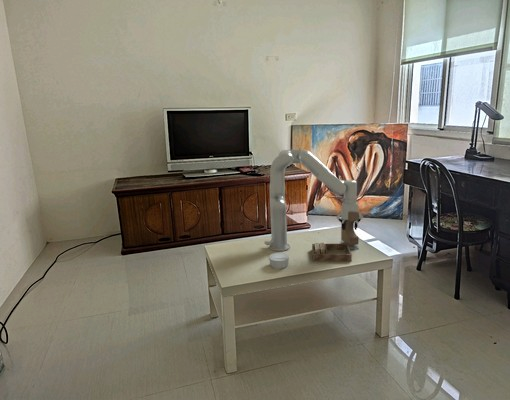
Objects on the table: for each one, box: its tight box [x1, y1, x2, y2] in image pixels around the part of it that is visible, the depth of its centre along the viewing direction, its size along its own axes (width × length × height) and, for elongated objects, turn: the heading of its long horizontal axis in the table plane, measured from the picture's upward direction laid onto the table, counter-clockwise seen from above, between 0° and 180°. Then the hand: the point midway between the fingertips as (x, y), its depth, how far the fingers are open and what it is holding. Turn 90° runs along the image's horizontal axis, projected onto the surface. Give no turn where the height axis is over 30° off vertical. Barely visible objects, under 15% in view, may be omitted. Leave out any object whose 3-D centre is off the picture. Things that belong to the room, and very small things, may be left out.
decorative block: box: [340, 211, 360, 246], centre depth 219 cm, size 11×6×20 cm, turn 18°
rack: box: [311, 243, 353, 262], centre depth 207 cm, size 21×17×4 cm
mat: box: [340, 240, 359, 250], centre depth 221 cm, size 9×13×1 cm
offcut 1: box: [314, 242, 320, 254], centre depth 208 cm, size 2×10×6 cm, turn 174°
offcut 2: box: [319, 242, 325, 254], centre depth 207 cm, size 2×10×6 cm, turn 174°
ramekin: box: [268, 252, 290, 270], centre depth 197 cm, size 11×11×5 cm
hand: (349, 228), depth 219 cm, fingers closed on decorative block, 6 cm apart
